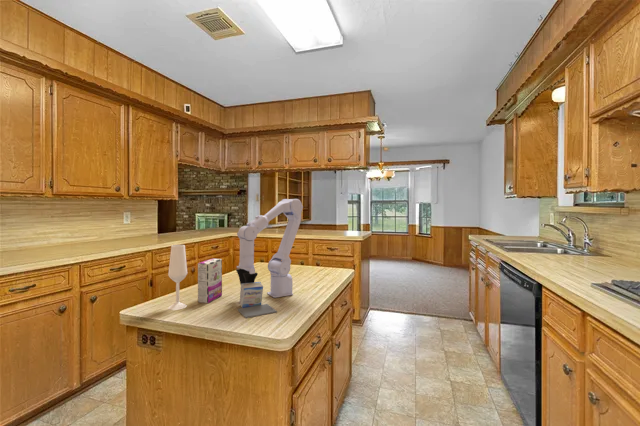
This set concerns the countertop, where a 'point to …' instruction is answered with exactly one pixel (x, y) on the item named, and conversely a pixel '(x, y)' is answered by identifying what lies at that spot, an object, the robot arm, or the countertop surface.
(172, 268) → the champagne flute
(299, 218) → the robot arm
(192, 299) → the countertop surface
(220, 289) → the candy bar box
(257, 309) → the slate mat
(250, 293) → the medicine box
